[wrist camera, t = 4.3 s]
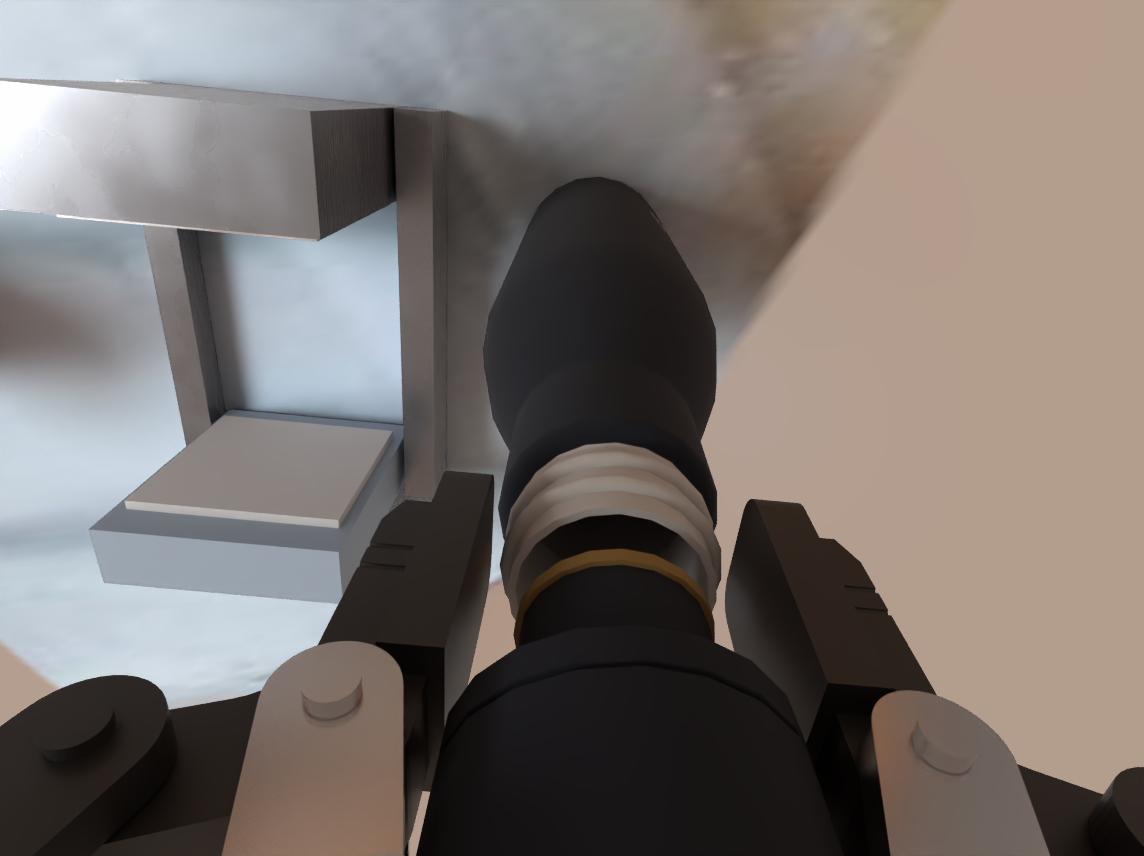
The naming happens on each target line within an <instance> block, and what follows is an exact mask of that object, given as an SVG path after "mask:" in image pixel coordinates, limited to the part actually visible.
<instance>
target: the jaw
mask: <svg viewBox="0 0 1144 856" xmlns="http://www.w3.org/2000/svg"><path fill="white" fill-rule="evenodd" d="M404 481H405V467H404V433H403V425H395V424H384V423H373V422H362V421H351V420H341V419H330V418H319V417H308V416H297V415H286V414H276V413H265V412H254V411H243V410H232V409H230V410H229V411H228V412H226V413H225V414H224V415H223V416H222V417H220V418H219V419H218V420H217V421H216V422H215V423H213V424H212V425H211V426H210V427H209V428H207V429H206V430H205V431H204V432H203V433H202V434H200V435H199V436H198V437H197V438H196V439H195V440H193V441H192V442H191V443H190V444H189V445H187V446H186V447H185V448H184V449H183V450H182V451H180V452H179V453H178V454H177V455H176V456H174V457H173V458H172V459H171V460H170V461H169V462H167V463H166V464H165V465H164V466H163V467H162V468H160V469H159V470H158V471H157V472H156V473H154V474H153V475H152V476H151V477H150V478H149V479H147V480H146V481H145V482H144V483H143V484H141V485H140V486H139V487H138V488H137V489H136V490H134V491H133V492H132V493H131V494H130V495H129V496H127V497H126V498H125V499H124V500H123V501H121V502H120V503H119V504H118V505H117V506H116V507H114V508H113V509H112V510H111V511H110V512H108V513H107V514H106V515H105V516H104V517H103V518H101V519H100V520H99V521H98V522H97V523H96V524H94V525H93V526H92V527H91V528H90V529H89V533H90V536H91V540H92V543H93V547H94V550H95V554H96V557H97V561H98V564H99V567H100V571H101V574H102V578H103V581H104V583H112V584H123V585H134V586H145V587H156V588H167V589H179V590H190V591H201V592H212V593H223V594H234V595H246V596H257V597H268V598H279V599H290V600H301V601H312V602H324V603H335V604H339V602H340V600H341V598H342V596H343V594H344V592H345V590H346V588H347V586H348V584H349V582H350V580H351V578H352V576H353V574H354V572H355V571H356V569H357V567H359V566H360V561H361V559H362V557H363V555H364V553H365V551H366V549H367V547H369V546H370V541H371V539H372V537H373V535H374V533H375V531H376V529H377V527H378V525H379V523H380V521H381V519H382V518H383V517H384V516H386V515H387V514H388V513H389V511H390V509H391V507H392V505H393V503H394V501H395V499H396V497H397V495H398V493H399V491H400V489H401V487H402V485H403V483H404Z"/></svg>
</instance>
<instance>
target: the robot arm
mask: <svg viewBox="0 0 1144 856" xmlns="http://www.w3.org/2000/svg"><path fill="white" fill-rule="evenodd" d="M493 506H494V476H493V475H489V474H478V473H467V472H456V471H445V472H444V473H443V475H442V478H441V480H440V483H439V485H438V488H437V490H436V493H435V495H434V498H433V500H432V502H423V501H412V500H405V501H404V502H403V503H401V504H400V505H399V506H397V507H396V508H395V509H394V510H392V511H391V512H390V513H388V514H387V515H386V516H384V517H383V518H382V519H381V521H380V523H379V525H378V527H377V529H376V531H375V533H374V535H373V537H372V539H371V541H370V546H369V547H367V549H366V551H365V553H364V555H363V557H362V559H361V561H360V566H359V567H357V569H356V571H355V572H354V574H353V576H352V578H351V580H350V582H349V584H348V586H347V588H346V590H345V592H344V594H343V596H342V598H341V600H340V602H339V604H338V606H337V608H336V610H335V612H334V614H333V616H332V618H331V620H330V622H329V624H328V626H327V628H326V630H325V632H324V634H323V636H322V638H321V640H320V642H319V644H318V645H317V646H314V647H312V648H309V649H307V650H304V651H302V652H301V653H299V654H297V655H295V656H293V657H292V658H290V659H289V660H287V661H286V662H285V663H283V664H282V665H281V666H280V667H279V668H278V669H277V670H275V671H274V673H273V674H272V675H271V676H270V677H269V679H268V680H267V681H266V683H265V685H264V687H263V688H262V690H261V691H258V692H255V693H253V694H250V695H247V696H242V697H238V698H234V699H228V700H223V701H217V702H211V703H206V704H200V705H194V706H189V707H183V708H177V709H172V710H169V709H168V705H167V701H166V698H165V696H164V694H163V692H162V691H161V690H160V689H159V688H158V687H157V686H156V685H155V684H153V683H152V682H150V681H148V680H145V679H142V678H139V677H134V676H128V675H111V676H102V677H97V678H92V679H87V680H84V681H80V682H77V683H74V684H71V685H69V686H66V687H64V688H61V689H59V690H57V691H55V692H53V693H51V694H49V695H47V696H45V697H43V698H41V699H39V700H38V701H36V702H35V703H33V704H32V705H30V706H29V707H27V708H26V709H24V710H23V711H21V712H20V713H18V714H17V715H16V716H14V717H13V718H11V719H10V720H9V721H7V722H6V723H4V724H3V725H1V726H0V856H409V840H410V837H411V833H412V831H413V827H414V823H415V819H416V815H417V811H418V807H419V802H420V799H421V795H422V791H429V792H430V791H431V787H432V783H433V778H434V774H435V769H436V765H437V760H438V757H439V752H440V747H441V742H442V738H443V734H444V729H445V725H446V720H447V716H448V713H449V711H450V710H451V708H452V707H453V706H454V704H455V703H456V701H457V700H458V699H459V697H460V696H461V694H462V693H463V692H464V690H465V689H466V688H467V686H468V681H469V677H470V672H471V667H472V663H473V657H474V654H475V649H476V644H477V640H478V635H479V630H480V626H481V621H482V617H483V612H484V607H485V603H486V598H487V592H488V586H489V578H490V569H491V554H492V530H493ZM725 612H726V618H727V624H728V628H729V632H730V636H731V640H732V643H733V648H734V652H735V653H737V654H739V655H741V656H744V657H746V658H748V659H750V660H752V661H753V662H754V663H755V664H756V665H757V666H758V667H759V668H760V669H761V670H762V671H763V672H764V673H765V674H766V675H767V676H768V677H769V678H770V679H771V680H772V681H773V682H774V683H775V684H776V685H777V686H778V687H779V688H780V689H781V690H782V691H783V692H784V693H785V694H786V695H787V697H788V699H789V702H790V704H791V707H792V709H793V712H794V714H795V716H796V719H797V721H798V724H799V726H800V729H801V731H802V733H803V736H804V739H805V742H806V745H807V748H808V751H809V754H810V757H811V760H812V763H813V766H814V771H815V773H816V775H817V778H818V781H819V783H820V786H821V789H822V792H823V795H824V798H825V801H826V804H827V807H828V810H829V813H830V816H831V819H832V822H833V825H834V828H835V831H836V834H837V836H838V839H839V842H840V845H841V848H842V851H843V854H844V856H1144V767H1135V768H1130V769H1127V770H1124V771H1122V772H1120V773H1119V774H1118V776H1117V777H1116V778H1115V779H1114V780H1113V782H1112V783H1111V785H1110V786H1109V787H1108V789H1107V790H1106V792H1105V793H1104V795H1103V794H1100V793H1097V792H1094V791H1091V790H1088V789H1086V788H1083V787H1080V786H1077V785H1074V784H1071V783H1068V782H1065V781H1063V780H1060V779H1057V778H1054V777H1051V776H1048V775H1045V774H1042V773H1039V772H1036V771H1033V770H1031V769H1028V768H1026V767H1023V766H1021V765H1018V764H1017V763H1016V760H1015V758H1014V756H1013V754H1012V753H1011V751H1010V750H1009V748H1008V747H1007V745H1006V744H1005V743H1004V741H1003V740H1002V739H1001V738H1000V737H999V735H998V734H997V733H995V731H994V730H993V729H991V728H990V727H989V726H988V725H987V724H986V723H985V722H983V721H982V720H981V719H980V718H978V717H977V716H976V715H974V714H973V713H971V712H970V711H968V710H967V709H965V708H963V707H961V706H959V705H958V704H956V703H954V702H952V701H949V700H947V699H945V698H943V697H940V696H937V695H936V693H935V691H934V689H933V688H932V686H931V684H930V683H929V681H928V679H927V677H926V676H925V674H924V672H923V670H922V668H921V667H920V665H919V663H918V662H917V660H916V658H915V656H914V655H913V653H912V651H911V649H910V648H909V646H908V644H907V642H906V641H905V639H904V637H903V635H902V634H901V632H900V630H899V628H898V627H897V625H896V623H895V621H894V620H893V618H892V616H890V615H888V609H887V608H886V606H885V604H884V602H883V600H882V599H881V597H880V595H879V594H878V593H875V586H874V585H873V583H872V581H871V579H870V578H869V576H868V574H867V572H866V571H865V569H864V567H863V566H862V564H861V562H860V561H858V560H857V559H856V558H855V557H854V556H853V555H852V554H851V553H849V552H848V551H847V550H846V549H845V548H844V547H842V546H841V545H840V544H839V543H838V542H837V541H836V540H835V539H825V538H819V536H818V534H817V532H816V530H815V528H814V526H813V525H812V522H811V521H810V519H809V517H808V515H807V513H806V511H805V509H804V507H803V506H802V505H801V504H799V503H790V502H779V501H767V500H757V499H750V500H749V501H748V502H747V504H746V506H745V508H744V512H743V515H742V520H741V524H740V528H739V532H738V536H737V540H736V545H735V548H734V553H733V557H732V561H731V565H730V569H729V573H728V577H727V583H726V591H725Z"/></svg>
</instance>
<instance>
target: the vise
mask: <svg viewBox="0 0 1144 856" xmlns="http://www.w3.org/2000/svg"><path fill="white" fill-rule="evenodd" d="M395 201H397V231H398V264H399V298H400V332H401V366H402V399H403V433H404V467H405V496H412V497H422V498H434V495H435V493H436V490H437V488H438V485H439V483H440V480H441V478H442V475H443V473H444V472H445V471H446V408H447V111H446V110H436V109H426V108H415V107H405V106H395V105H384V104H374V103H364V102H353V101H343V100H333V99H323V98H312V97H302V96H292V95H281V94H271V93H261V92H250V91H240V90H230V89H220V88H209V87H199V86H189V85H178V84H168V83H158V82H148V81H137V80H115V82H95V81H66V80H37V79H8V78H0V209H2V210H12V211H23V212H33V213H44V214H54V215H56V216H57V217H65V218H76V219H86V220H97V221H107V222H118V223H128V224H139V225H143V227H144V232H145V237H146V242H147V247H148V252H149V257H150V262H151V267H152V273H153V278H154V283H155V288H156V293H157V298H158V303H159V308H160V313H161V319H162V324H163V329H164V334H165V339H166V344H167V349H168V354H169V359H170V364H171V370H172V375H173V380H174V385H175V390H176V395H177V400H178V405H179V410H180V416H181V421H182V426H183V431H184V436H185V441H186V446H187V445H189V444H190V443H191V442H192V441H193V440H195V439H196V438H197V437H198V436H199V435H200V434H202V433H203V432H204V431H205V430H206V429H207V428H209V427H210V426H211V425H212V424H213V423H215V422H216V421H217V420H218V419H219V418H220V417H222V416H223V415H224V414H225V407H224V401H223V395H222V389H221V382H220V376H219V370H218V364H217V358H216V351H215V345H214V339H213V333H212V327H211V321H210V314H209V308H208V302H207V296H206V290H205V284H204V277H203V271H202V265H201V259H200V253H199V247H198V240H197V234H196V230H202V231H212V232H223V233H234V234H244V235H255V236H265V237H276V238H286V239H297V240H307V241H319V240H321V239H323V238H325V237H327V236H329V235H331V234H333V233H335V232H337V231H339V230H341V229H343V228H344V227H346V226H348V225H350V224H352V223H354V222H356V221H358V220H360V219H362V218H364V217H366V216H368V215H370V214H372V213H374V212H376V211H378V210H380V209H382V208H384V207H386V206H387V205H389V204H391V203H393V202H395Z"/></svg>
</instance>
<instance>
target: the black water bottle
mask: <svg viewBox="0 0 1144 856" xmlns="http://www.w3.org/2000/svg"><path fill="white" fill-rule="evenodd" d="M483 354H484V368H485V374H486V380H487V386H488V392H489V398H490V404H491V409H492V415H493V419H494V421H495V423H496V425H497V427H498V430H499V432H500V434H501V436H502V438H503V440H504V441H505V443H506V445H507V447H508V449H509V451H510V453H509V457H508V462H507V467H506V471H505V476H504V481H503V486H502V491H501V496H500V501H499V506H498V510H499V516H500V521H501V527H502V533H503V538H504V540H505V543H504V547H503V552H502V557H501V561H500V569H501V574H502V579H503V585H504V590H505V594H506V596H507V597H508V599H509V602H510V607H511V613H512V615H513V617H514V619H515V620H516V622H515V629H514V639H515V645H516V649H514V650H513V651H511V652H510V653H508V654H507V655H505V656H504V657H502V658H501V659H499V660H498V661H496V662H495V663H493V664H492V665H490V666H489V667H487V668H486V669H485V670H483V671H482V672H480V673H479V674H477V675H476V676H475V677H474V678H473V679H472V681H471V682H470V683H469V685H468V686H467V688H466V689H465V690H464V692H463V693H462V694H461V696H460V697H459V699H458V700H457V701H456V703H455V704H454V706H453V707H452V708H451V710H450V711H449V713H448V716H447V720H446V725H445V729H444V734H443V738H442V742H441V747H440V752H439V757H438V760H437V765H436V769H435V774H434V778H433V783H432V787H431V791H430V796H429V800H428V805H427V809H426V815H425V818H424V823H423V827H422V832H421V836H420V841H419V845H418V849H417V854H416V856H844V854H843V851H842V848H841V845H840V842H839V839H838V836H837V834H836V831H835V828H834V825H833V822H832V819H831V816H830V813H829V810H828V807H827V804H826V801H825V798H824V795H823V792H822V789H821V786H820V783H819V781H818V778H817V775H816V773H815V771H814V766H813V763H812V760H811V757H810V754H809V751H808V748H807V745H806V742H805V739H804V736H803V733H802V731H801V729H800V726H799V724H798V721H797V719H796V716H795V714H794V712H793V709H792V707H791V704H790V702H789V699H788V697H787V695H786V694H785V693H784V692H783V691H782V690H781V689H780V688H779V687H778V686H777V685H776V684H775V683H774V682H773V681H772V680H771V679H770V678H769V677H768V676H767V675H766V674H765V673H764V672H763V671H762V670H761V669H760V668H759V667H758V666H757V665H756V664H755V663H754V662H753V661H752V660H750V659H748V658H746V657H744V656H741V655H739V654H737V653H735V652H733V651H731V650H729V649H727V648H725V647H723V646H720V645H718V644H716V643H715V641H714V640H715V639H714V638H715V636H714V635H715V633H714V619H713V615H712V610H713V608H714V605H715V603H716V590H717V588H718V585H719V583H720V580H721V548H720V545H719V543H718V541H717V538H716V536H715V534H714V530H715V527H716V525H717V491H716V487H715V484H714V481H713V478H712V475H711V472H710V469H709V466H708V463H707V460H706V457H705V454H704V451H703V448H702V445H701V442H700V441H701V439H702V436H703V434H704V431H705V428H706V425H707V422H708V419H709V416H710V414H711V411H712V408H713V405H714V402H715V393H716V329H715V326H714V323H713V320H712V317H711V314H710V312H709V309H708V306H707V303H706V300H705V298H704V295H703V293H702V291H701V290H700V288H699V286H698V285H697V283H696V281H695V280H694V278H693V276H692V275H691V273H690V271H689V270H688V268H687V266H686V264H685V263H684V261H683V259H682V258H681V256H680V254H679V253H678V251H677V249H676V248H675V246H674V244H673V243H672V241H671V239H670V237H669V236H668V234H667V232H666V231H665V229H664V227H663V226H662V224H661V222H660V221H659V219H658V217H657V216H656V214H655V212H654V211H653V209H652V208H651V207H650V206H649V204H648V203H647V202H646V201H645V199H644V198H643V197H642V196H641V195H640V194H639V193H638V192H636V191H634V190H633V189H631V188H630V187H628V186H627V185H625V184H623V183H622V182H619V181H614V180H610V179H606V178H602V177H594V178H585V179H577V180H574V181H572V182H570V183H568V184H566V185H564V186H561V187H559V188H557V189H556V190H555V191H554V192H553V193H552V194H550V195H549V196H548V197H547V198H546V199H545V200H544V201H543V202H542V203H541V204H540V206H539V207H538V209H537V211H536V213H535V215H534V217H533V218H532V220H531V222H530V224H529V226H528V229H527V231H526V233H525V235H524V237H523V240H522V242H521V244H520V246H519V249H518V251H517V253H516V255H515V258H514V260H513V262H512V264H511V267H510V269H509V271H508V273H507V275H506V278H505V280H504V282H503V284H502V287H501V289H500V291H499V293H498V296H497V298H496V300H495V302H494V305H493V307H492V309H491V311H490V313H489V318H488V324H487V330H486V336H485V342H484V348H483Z"/></svg>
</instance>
